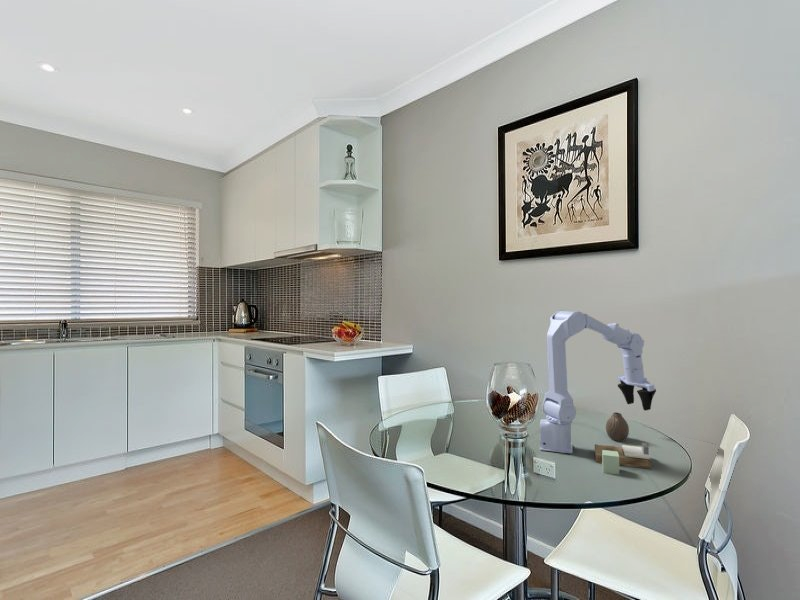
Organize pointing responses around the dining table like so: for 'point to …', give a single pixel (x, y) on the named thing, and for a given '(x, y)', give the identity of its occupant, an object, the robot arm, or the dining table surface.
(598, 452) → the wooden tray
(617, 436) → the vase
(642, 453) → the cover
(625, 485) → the dining table surface
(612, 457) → the block
